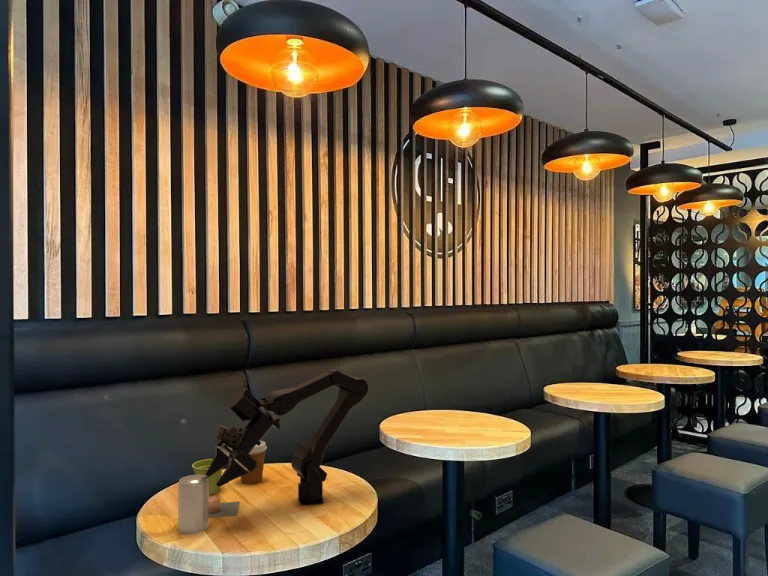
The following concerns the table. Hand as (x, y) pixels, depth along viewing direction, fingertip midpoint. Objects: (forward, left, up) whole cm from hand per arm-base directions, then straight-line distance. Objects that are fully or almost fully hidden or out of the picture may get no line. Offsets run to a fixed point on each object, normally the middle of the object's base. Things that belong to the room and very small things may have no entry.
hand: (212, 480), depth 137 cm
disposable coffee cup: (-8, -31, -11) cm, 34 cm away
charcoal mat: (+1, -9, -11) cm, 14 cm away
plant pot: (+4, -24, -11) cm, 27 cm away
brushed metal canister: (+4, +2, -11) cm, 12 cm away
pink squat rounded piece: (+1, -9, -11) cm, 14 cm away
